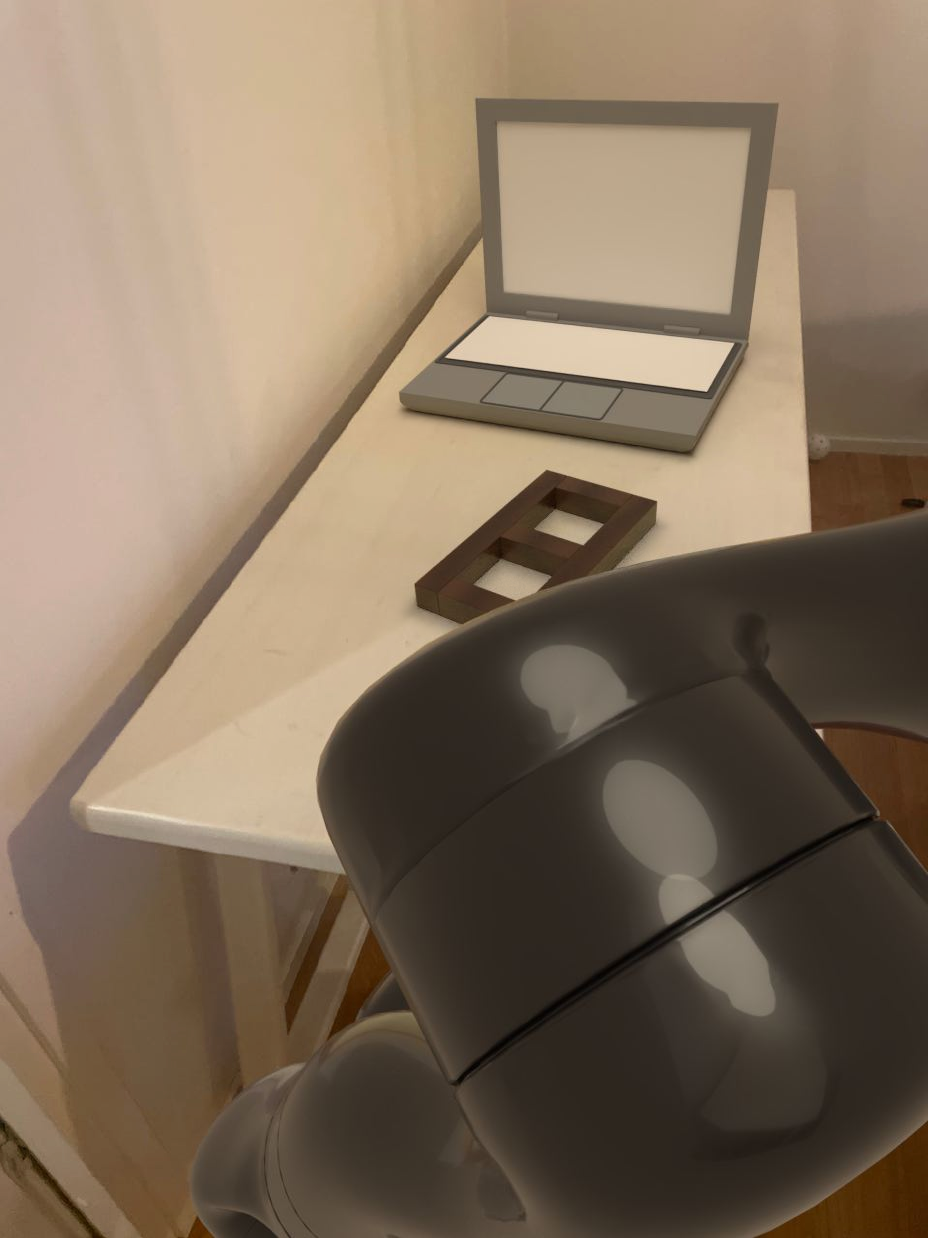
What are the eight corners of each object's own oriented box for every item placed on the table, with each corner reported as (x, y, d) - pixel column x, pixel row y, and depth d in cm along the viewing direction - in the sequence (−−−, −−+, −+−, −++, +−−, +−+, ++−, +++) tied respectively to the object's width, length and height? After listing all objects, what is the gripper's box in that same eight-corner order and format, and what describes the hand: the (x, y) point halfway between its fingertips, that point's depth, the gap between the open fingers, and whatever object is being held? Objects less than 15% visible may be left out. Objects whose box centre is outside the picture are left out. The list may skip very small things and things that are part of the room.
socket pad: (656, 523, 90) (657, 500, 88) (535, 653, 76) (534, 629, 75) (546, 490, 96) (546, 469, 94) (416, 606, 82) (413, 583, 81)
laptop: (401, 412, 111) (370, 152, 93) (491, 327, 129) (479, 96, 112) (693, 458, 99) (721, 167, 81) (747, 356, 117) (780, 100, 99)
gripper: (642, 940, 45) (770, 729, 54) (406, 814, 51) (558, 647, 61) (634, 1020, 49) (754, 812, 59) (420, 895, 56) (559, 727, 66)
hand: (654, 728), depth 60 cm, fingers open, 8 cm apart
